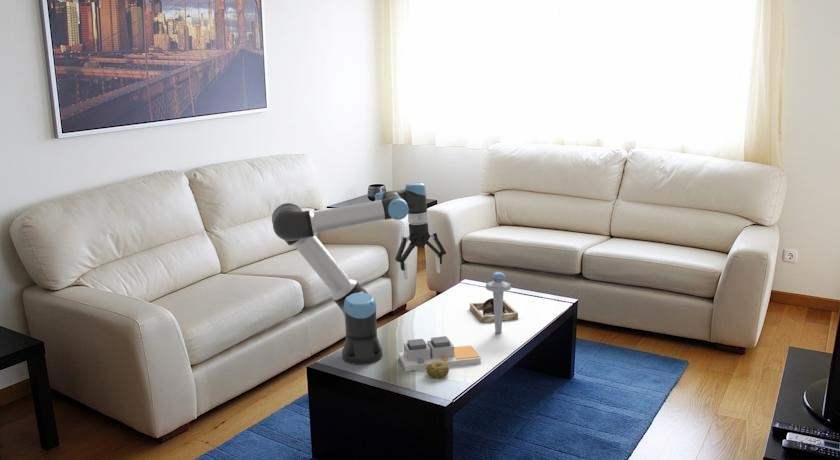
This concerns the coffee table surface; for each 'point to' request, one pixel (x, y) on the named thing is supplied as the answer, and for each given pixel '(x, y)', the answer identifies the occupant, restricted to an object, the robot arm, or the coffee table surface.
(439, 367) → the sculpture
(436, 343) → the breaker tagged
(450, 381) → the coffee table surface
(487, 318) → the mug frame
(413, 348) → the block
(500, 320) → the novelty light stick
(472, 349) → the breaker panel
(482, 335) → the coffee table surface
